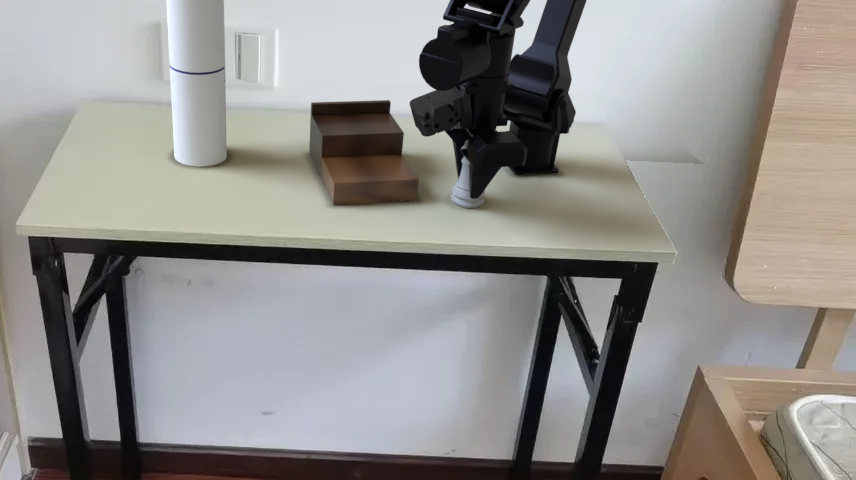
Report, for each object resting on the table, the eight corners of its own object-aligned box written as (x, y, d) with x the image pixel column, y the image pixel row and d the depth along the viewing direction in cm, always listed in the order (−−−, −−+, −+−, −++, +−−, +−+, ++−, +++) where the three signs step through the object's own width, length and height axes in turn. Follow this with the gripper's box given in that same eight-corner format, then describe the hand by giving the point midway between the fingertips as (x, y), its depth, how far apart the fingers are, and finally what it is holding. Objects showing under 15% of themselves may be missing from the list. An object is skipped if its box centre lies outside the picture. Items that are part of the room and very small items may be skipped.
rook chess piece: (448, 193, 127) (455, 135, 122) (482, 195, 127) (491, 137, 122) (450, 208, 123) (458, 149, 118) (485, 210, 123) (494, 151, 118)
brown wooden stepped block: (385, 151, 137) (389, 99, 133) (416, 200, 124) (422, 145, 120) (309, 154, 135) (310, 102, 130) (333, 205, 122) (336, 149, 118)
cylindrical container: (164, 160, 131) (153, -34, 116) (190, 141, 136) (182, -46, 122) (211, 170, 129) (205, -26, 114) (235, 151, 134) (233, -38, 120)
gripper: (399, 46, 121) (389, 163, 130) (444, 100, 106) (429, 227, 115) (483, 45, 123) (467, 159, 132) (538, 97, 108) (517, 222, 117)
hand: (468, 190), depth 124 cm, fingers closed on rook chess piece, 4 cm apart
